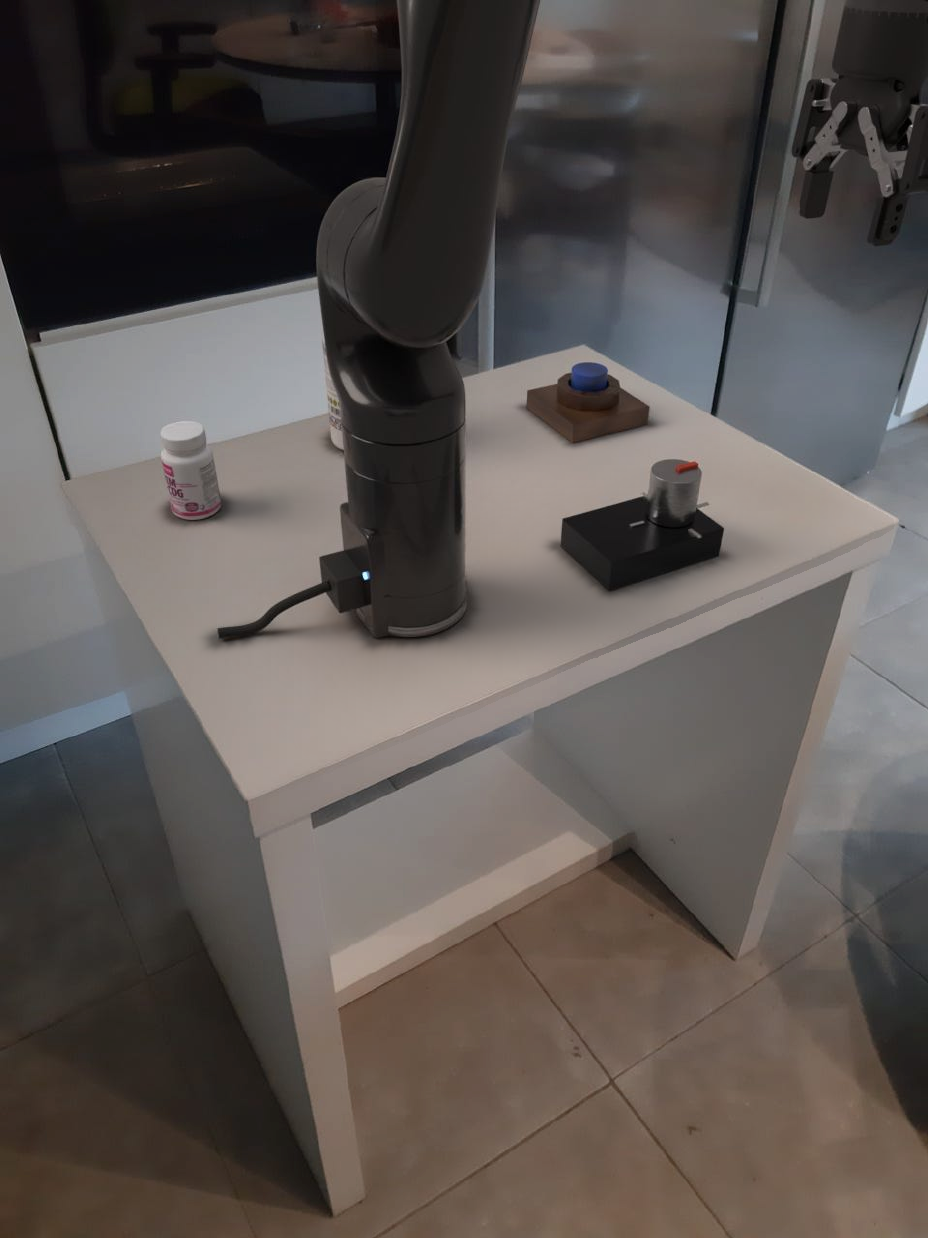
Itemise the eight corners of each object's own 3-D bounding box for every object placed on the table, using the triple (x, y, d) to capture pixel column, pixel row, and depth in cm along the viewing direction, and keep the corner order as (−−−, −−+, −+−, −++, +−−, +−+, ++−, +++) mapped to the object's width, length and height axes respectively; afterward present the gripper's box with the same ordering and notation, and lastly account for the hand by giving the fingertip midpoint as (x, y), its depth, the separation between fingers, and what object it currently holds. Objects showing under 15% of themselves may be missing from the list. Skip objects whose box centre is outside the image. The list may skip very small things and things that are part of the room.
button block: (572, 443, 107) (574, 409, 104) (526, 407, 114) (527, 375, 111) (647, 424, 110) (651, 391, 108) (598, 391, 117) (601, 359, 115)
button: (583, 396, 108) (584, 378, 106) (563, 383, 111) (564, 365, 109) (613, 389, 109) (615, 372, 108) (593, 376, 112) (595, 359, 111)
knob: (664, 532, 86) (671, 484, 84) (635, 509, 90) (641, 462, 87) (704, 520, 88) (712, 472, 85) (674, 498, 91) (681, 451, 88)
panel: (610, 593, 84) (614, 562, 82) (558, 544, 90) (560, 515, 89) (732, 554, 89) (738, 524, 87) (675, 510, 95) (679, 482, 93)
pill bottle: (162, 516, 94) (145, 437, 89) (188, 493, 98) (173, 415, 93) (206, 524, 93) (191, 444, 88) (230, 500, 97) (217, 422, 92)
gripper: (795, -6, 76) (755, 213, 86) (929, 13, 66) (867, 259, 76) (871, -7, 79) (824, 205, 89) (1012, 10, 68) (941, 249, 78)
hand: (844, 230), depth 82 cm, fingers open, 8 cm apart
